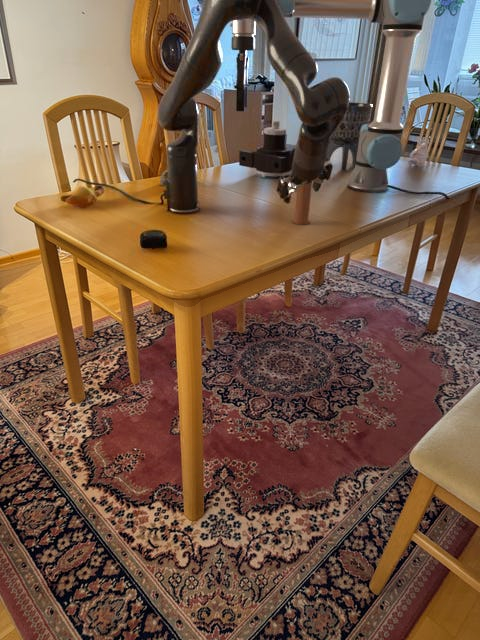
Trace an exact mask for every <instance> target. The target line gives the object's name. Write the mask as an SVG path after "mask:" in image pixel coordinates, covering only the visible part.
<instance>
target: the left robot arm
mask: <svg viewBox="0 0 480 640" xmlns="http://www.w3.org/2000/svg"><path fill="white" fill-rule="evenodd" d="M250 18H251V19H252V20H253V21H255V22H256V25H258V27H259V28H260V29H261V30H262V32H263V33H264V34H263V35H264V38H265V50H266V55H267V59H268V61H269V63H270V66H271V67H272V68H273V70H274V71H275V73H276V74H277V76H278V77H279V78H280V80H281V81H282V82H283V83H284V85H285V86H286V88H287V90H288V93H289V95H290V97H291V100H292V102H293V105H294V108H295V111H296V114H297V117H298V119H299V120H300V122H301V124H300V127H299V133H298V137H297V141H296V143H295V145H296V147H295V152H294V157H293V163H292V173H291V175H289V176H288V177H285V176H284V177H283V176H282V177H280V176H279V178H278V183H277V186H276V192H277V194H278V196H279V198H280V199H282V200H283V202H284V203H285V204H286V205H289V204H291V199H292V195H293V194H294V193H296V192H297V191H298V190H299V189H300V188H301V187H302V186H304V185H305V184H309V183H311V182H312V187H311V188H312V189H313V191H314V192H315V193H317V192H319V190H320V189H321V187H322V184H323V183H324V181H328V180H330V179H331V177H332V172H333V168H334V165H333V164H332V162H331V159H330V160H329V159H328V158H327V154H328V147H329V143H330V140H331V136H332V134H333V132H334V131H335V130H336V128H337V127H338V125H339V124H340V122H341V120H342V119H343V117H344V115H345V113H346V111H347V109H348V106H349V102H350V98H351V96H350V95H351V94H350V90H349V87H348V84H347V83H346V82H345V81H344V79H342V78H340V77H337V76H334V77H328V78H326V79H324V80H322V81H321V82H319V83H316V84H314V85H313V86H310V85H311V84H312V83H313V81H314V80H315V79H316V77H317V75H318V70H319V69H318V68H319V67H318V64H317V62H316V61H315V59H314V57H313V56H312V55H311V54H310V52H309V51H308V50H307V48H306V47H305V46H304V45H303V43H302V42H301V41H300V39H299V38H298V37H297V36H296V34H295V32H294V31H293V30H292V28H291V27H290V25H289V23H288V22H287V20H286V17H284V16H283V14H282V12H281V10H280V8H279V6H278V4H277V2H276V0H203V4H202V8H201V11H200V14H199V17H198V20H197V23H196V25H195V28H194V30H193V32H192V35H191V37H190V40H189V42H188V44H187V47H186V48H185V51H184V52H183V55H182V58H181V60H180V63H179V66H178V68H177V70H176V72H175V75H174V77H173V79H172V81H171V82H170V84H169V86H168V87H167V89H166V90H165V92H164V94H163V96H162V97H161V99H160V102H159V104H158V109H157V120H158V124H159V125H160V127H161V128H162V129H163V130H164V131H167V132H180V135H179V136H178V137H177V138H176V139H174V140H173V141H171V142H168V143H167V144H166V147H165V150H166V165H167V169H168V180H166V186H165V189H164V190H163V193H162V194H160V197H159V198H160V202H159V203H158V205H160V206H161V205H164V204H165V200H166V208H167V209H166V210H167V211H169V212H172V213H175V214H182V215H183V214H185V215H186V214H192V213H197V212H198V211H199V206H200V200H199V185H198V184H199V183H198V152H197V151H198V146H199V145H198V143H199V109H198V104H197V101H196V100H195V98H196V97H197V96H198V95H200V94H202V93H203V92H204V91H206V90H207V89H208V88H209V87H210V86H211V85H212V84H213V82H214V80H215V78H216V77H217V75H218V73H219V72H220V70H221V67H222V64H223V49H222V45H221V41H220V39H221V36H222V34H223V32H224V30H225V29H226V28H227V25H228V24H230V23H232V21H236V20H245V19H250ZM309 86H310V87H309ZM77 181H78V182H79V181H80V182H82V183H84V184H89V185H95V186H99V185H100V186H102V187H106V188H110V189H114V190H115V191H117V192H120V194H122V195H124V196H126V197H128V198H129V199H131V200H133V201H135V202H140V203H142V204H146V205H147V204H149V205H153V204H154V205H155V203H153V202H150V201H146V200H143V199H139V198H135V197H134V196H132V195H130V194H128V193H126V192H125V191H123V190H122V189H120V188H118V187H116V186H113V185H110V184H106V183H99V182H94V181H93V182H92V181H88V180H85V179H82V178H75V179H73V180H72V183H76V182H77ZM289 189H290V190H289Z"/></svg>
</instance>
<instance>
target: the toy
mask: <svg viewBox="0 0 480 640" xmlns="http://www.w3.org/2000/svg"><path fill="white" fill-rule="evenodd" d="M104 192H105V188H104V186H101V185H95V186H94V189H92V188H90V187H87V186H85V185H79V186H78V187H77V188H76V189H74V191H73V192H71V193H70V194H67V195H61V196H60V201H61V202H63V203H66V204H68V205H72V206H73V205H74V206H77V207H82V208H85V207H90V206H93V205H95V204H96V203H97V202H98V198H99V197H100V196H102V195H103V194H104Z"/></svg>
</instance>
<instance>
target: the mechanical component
mask: <svg viewBox="0 0 480 640" xmlns="http://www.w3.org/2000/svg"><path fill="white" fill-rule="evenodd" d="M287 138H288V129H287V128H286V127H280V121H279V120H272V126H271V127H265V128H264V129H263V145H262V146H258V147H257V148H256V151H250V150H245V149H241V150H239V153H238V154H239V155H238V157H239V159H238V166H240V167H245V168H250V169H255V173H256V174H257V175H261V177H262V178H267V177H279V178H280V177H282V176H283V177H284V178H285V176H290V175H291V173H292V163H293V157H294V152H295V147H296V144H290V143H287Z"/></svg>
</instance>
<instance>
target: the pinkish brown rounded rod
mask: <svg viewBox="0 0 480 640" xmlns="http://www.w3.org/2000/svg"><path fill="white" fill-rule="evenodd" d="M312 185H313V181H312V182H311V183H309V184H305V185H304V186H302V187H301V188H300V189H299V190H298V191H297V192H295V200H294V201H295V202H294V212H293V214H294V215H293V223H294V224H296V225H308V223H309V217H310V206H311V198H312V197H311V195H312V188H313V187H312Z"/></svg>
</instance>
